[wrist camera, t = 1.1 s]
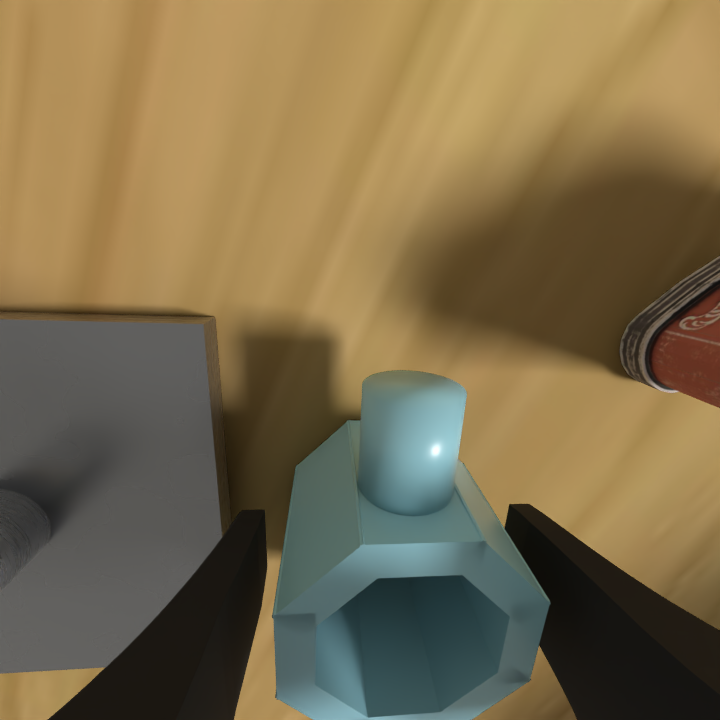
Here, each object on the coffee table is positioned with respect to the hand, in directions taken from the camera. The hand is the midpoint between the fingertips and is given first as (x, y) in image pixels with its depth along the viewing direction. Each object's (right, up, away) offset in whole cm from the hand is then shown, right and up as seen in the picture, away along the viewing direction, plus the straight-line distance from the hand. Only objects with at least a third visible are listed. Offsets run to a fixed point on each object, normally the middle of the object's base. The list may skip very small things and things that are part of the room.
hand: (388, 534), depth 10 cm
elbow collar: (0, +2, +1) cm, 2 cm away
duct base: (-11, +1, +1) cm, 11 cm away
